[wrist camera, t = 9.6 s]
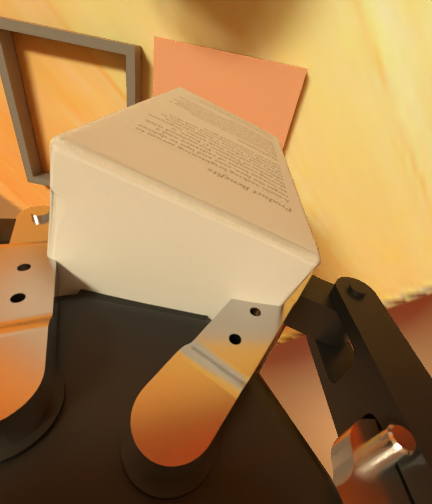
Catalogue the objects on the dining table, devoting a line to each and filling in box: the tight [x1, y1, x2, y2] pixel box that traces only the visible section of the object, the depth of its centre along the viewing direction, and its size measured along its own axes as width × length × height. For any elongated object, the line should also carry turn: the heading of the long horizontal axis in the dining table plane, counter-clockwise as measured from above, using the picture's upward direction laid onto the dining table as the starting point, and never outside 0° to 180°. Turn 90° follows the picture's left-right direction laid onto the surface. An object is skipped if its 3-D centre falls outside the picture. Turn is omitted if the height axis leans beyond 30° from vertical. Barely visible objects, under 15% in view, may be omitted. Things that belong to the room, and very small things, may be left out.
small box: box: [47, 87, 321, 320], centre depth 11 cm, size 8×6×10 cm
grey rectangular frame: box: [0, 16, 141, 186], centre depth 25 cm, size 11×13×2 cm
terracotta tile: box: [153, 37, 307, 150], centre depth 25 cm, size 12×12×1 cm
